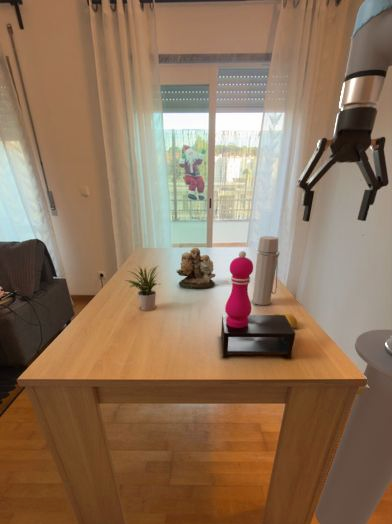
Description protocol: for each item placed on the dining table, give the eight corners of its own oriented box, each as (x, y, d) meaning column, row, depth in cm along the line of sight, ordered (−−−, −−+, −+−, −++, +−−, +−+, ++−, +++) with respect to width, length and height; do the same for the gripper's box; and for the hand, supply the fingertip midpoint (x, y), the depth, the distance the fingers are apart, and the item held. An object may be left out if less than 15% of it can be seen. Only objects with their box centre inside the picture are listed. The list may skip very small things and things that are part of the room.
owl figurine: (177, 290, 128) (175, 251, 119) (176, 282, 138) (175, 245, 130) (216, 288, 130) (217, 250, 121) (213, 280, 140) (213, 244, 131)
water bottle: (248, 303, 114) (254, 238, 101) (258, 297, 120) (265, 235, 107) (269, 309, 109) (278, 241, 96) (278, 303, 115) (288, 237, 102)
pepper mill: (255, 323, 81) (263, 251, 70) (238, 331, 76) (244, 256, 66) (236, 315, 85) (241, 246, 75) (219, 322, 81) (222, 250, 71)
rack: (280, 338, 90) (284, 314, 86) (290, 358, 79) (295, 333, 75) (221, 337, 90) (222, 314, 86) (223, 358, 80) (224, 333, 76)
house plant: (145, 297, 120) (141, 258, 112) (173, 303, 115) (171, 262, 106) (123, 309, 110) (117, 267, 101) (152, 316, 104) (148, 272, 96)
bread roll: (300, 329, 95) (303, 318, 93) (276, 331, 93) (277, 321, 91) (288, 318, 102) (290, 308, 100) (265, 321, 100) (266, 310, 98)
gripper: (407, 111, 62) (376, 218, 73) (292, 113, 62) (279, 219, 73) (431, 103, 55) (393, 221, 66) (303, 106, 56) (286, 223, 67)
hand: (333, 220), depth 70 cm, fingers open, 13 cm apart
